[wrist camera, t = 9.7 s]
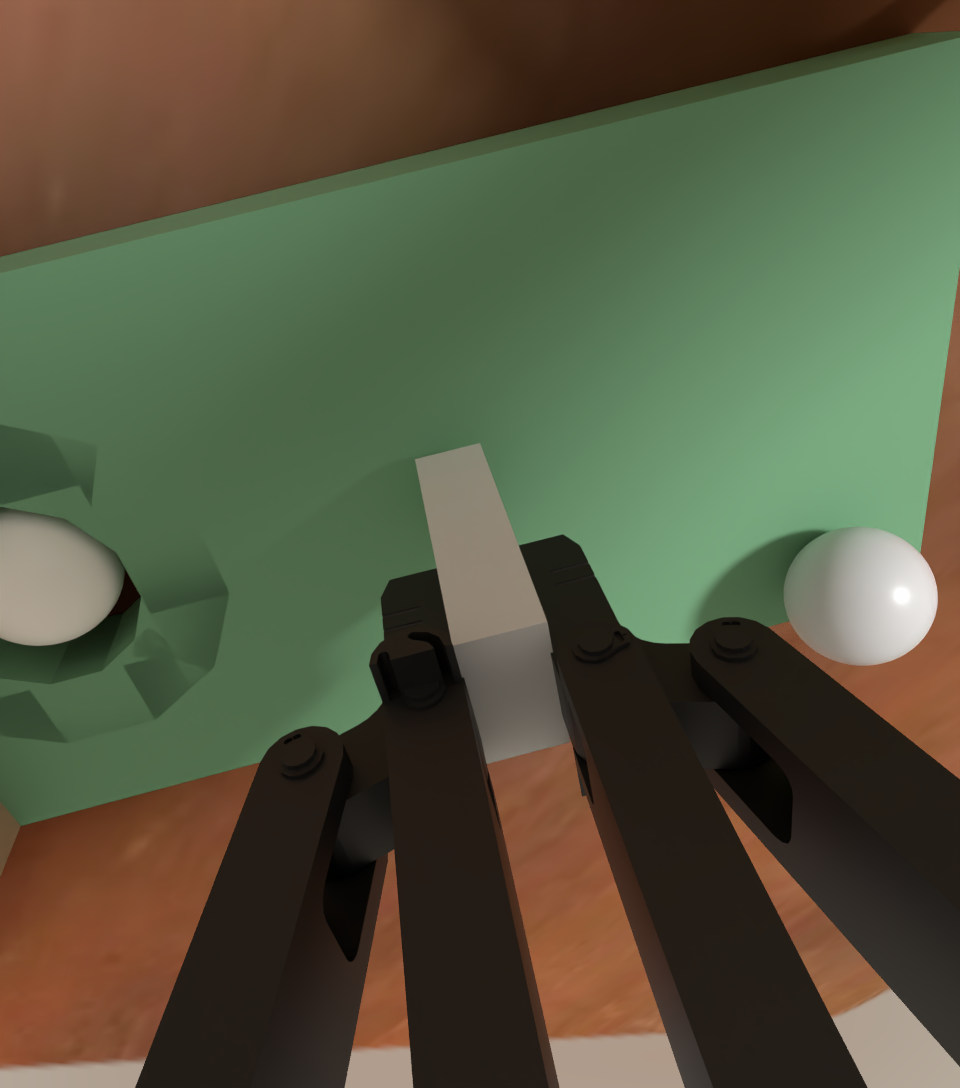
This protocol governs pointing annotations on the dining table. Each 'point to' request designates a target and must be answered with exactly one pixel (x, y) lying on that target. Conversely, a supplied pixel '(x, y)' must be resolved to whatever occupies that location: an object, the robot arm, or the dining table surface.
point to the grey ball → (860, 596)
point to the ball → (53, 579)
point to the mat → (473, 395)
